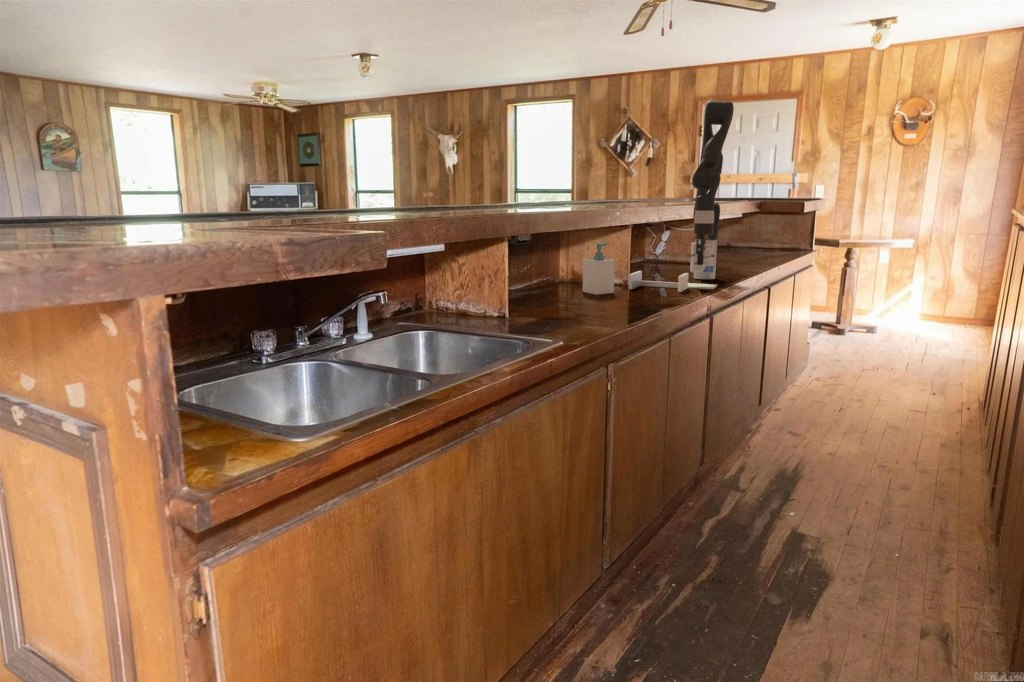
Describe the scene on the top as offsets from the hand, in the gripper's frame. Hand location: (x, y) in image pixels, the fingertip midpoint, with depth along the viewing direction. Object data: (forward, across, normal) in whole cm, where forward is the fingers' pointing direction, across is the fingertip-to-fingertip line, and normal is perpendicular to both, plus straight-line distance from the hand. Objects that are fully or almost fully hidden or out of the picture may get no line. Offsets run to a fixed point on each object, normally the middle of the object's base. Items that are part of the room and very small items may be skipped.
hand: (701, 263), depth 277 cm
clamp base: (+9, -12, +15) cm, 22 cm away
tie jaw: (+9, -14, +4) cm, 17 cm away
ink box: (+3, 0, 0) cm, 3 cm away
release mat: (+9, 0, 0) cm, 9 cm away
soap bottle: (+10, -32, +32) cm, 47 cm away
